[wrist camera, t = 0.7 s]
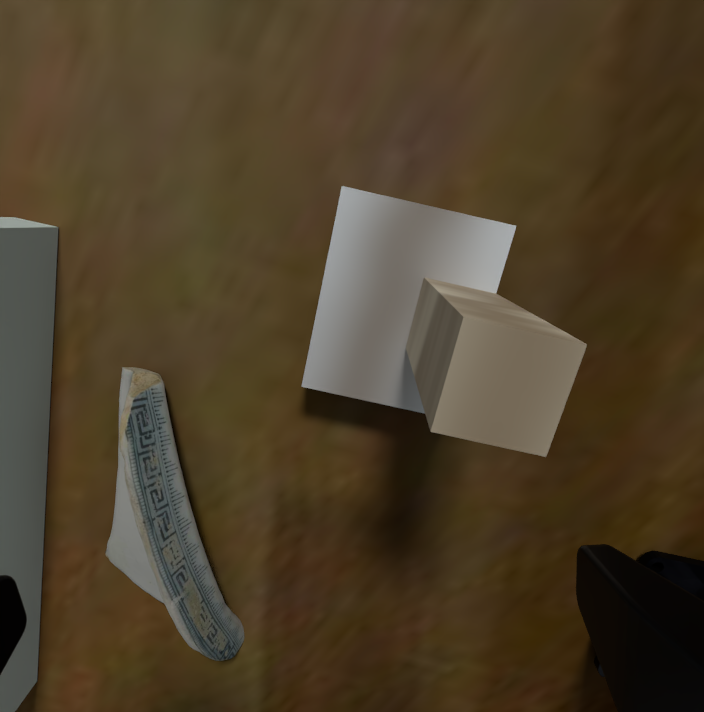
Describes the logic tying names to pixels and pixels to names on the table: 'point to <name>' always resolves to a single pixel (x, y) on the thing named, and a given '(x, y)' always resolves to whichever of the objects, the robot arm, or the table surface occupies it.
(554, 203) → the table surface
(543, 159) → the table surface
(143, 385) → the ceramic fragment
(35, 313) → the stop rail
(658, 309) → the table surface
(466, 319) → the plate with square post
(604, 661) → the robot arm
